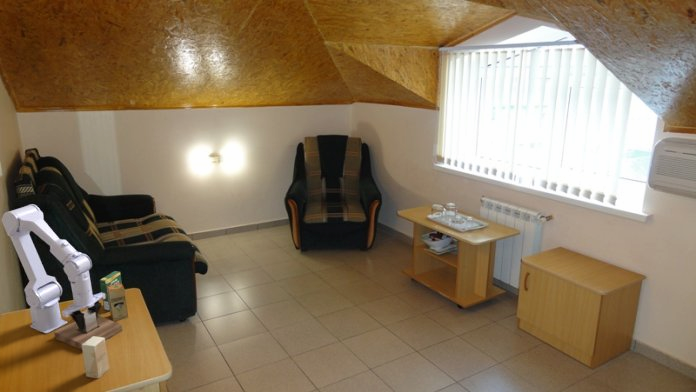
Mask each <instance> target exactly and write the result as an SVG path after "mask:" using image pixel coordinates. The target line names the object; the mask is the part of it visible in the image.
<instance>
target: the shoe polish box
mask: <svg viewBox="0 0 696 392" xmlns="http://www.w3.org/2000/svg"><path fill="white" fill-rule="evenodd" d="M125 291H126V290H125V287H124V285H123V283H118V284H113V285H109V286H107V293H108V300H109V306H110V311H109V313H110V317H111V318H112V321H114V322H116V321H119V320H123V319H127V318H128V317H129V313H128V305H127V299H126V292H125Z"/></svg>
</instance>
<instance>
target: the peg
mask: <svg viewBox="0 0 696 392" xmlns="http://www.w3.org/2000/svg"><path fill="white" fill-rule="evenodd" d="M81 313H84V326H85V329H84V330H80V329H79V330H80V332H82V333H85V334H87V333H89V332H91V331H93V330H95V329H97V328H98V326H97V320H96V313H95V312H94V311H91V310H89V309H88V308H87V309H86V310H83V311H81Z"/></svg>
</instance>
